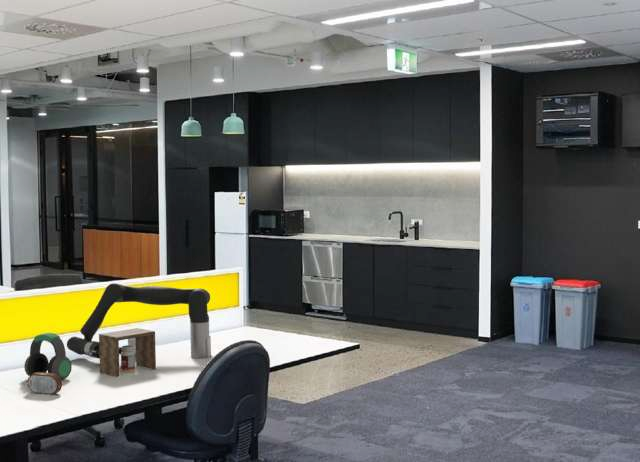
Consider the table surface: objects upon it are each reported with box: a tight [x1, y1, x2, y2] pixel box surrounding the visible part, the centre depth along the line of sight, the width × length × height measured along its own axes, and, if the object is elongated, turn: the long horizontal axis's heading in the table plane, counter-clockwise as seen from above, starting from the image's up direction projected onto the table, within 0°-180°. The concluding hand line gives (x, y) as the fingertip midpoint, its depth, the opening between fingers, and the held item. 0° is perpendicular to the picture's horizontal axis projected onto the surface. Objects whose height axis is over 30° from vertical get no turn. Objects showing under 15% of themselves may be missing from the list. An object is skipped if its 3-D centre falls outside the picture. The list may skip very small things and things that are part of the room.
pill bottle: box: [120, 344, 136, 373], centre depth 364 cm, size 6×6×11 cm
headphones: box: [23, 332, 72, 381], centre depth 350 cm, size 19×11×20 cm, turn 65°
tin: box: [27, 372, 63, 395], centre depth 324 cm, size 15×3×8 cm, turn 71°
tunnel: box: [98, 327, 157, 378], centre depth 363 cm, size 14×20×18 cm
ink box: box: [127, 338, 136, 358], centre depth 397 cm, size 9×5×12 cm, turn 56°
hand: (114, 353), depth 371 cm, fingers open, 8 cm apart
